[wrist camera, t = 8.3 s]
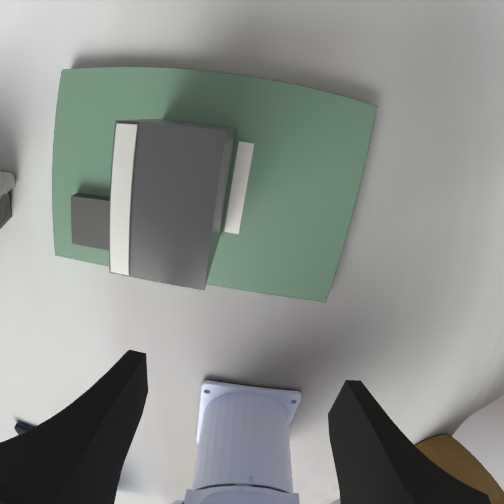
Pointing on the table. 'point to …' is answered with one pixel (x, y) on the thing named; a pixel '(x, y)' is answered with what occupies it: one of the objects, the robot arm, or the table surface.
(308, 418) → the table surface
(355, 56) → the table surface
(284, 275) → the pcb
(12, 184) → the electrical switch
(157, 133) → the plug
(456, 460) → the plant pot
